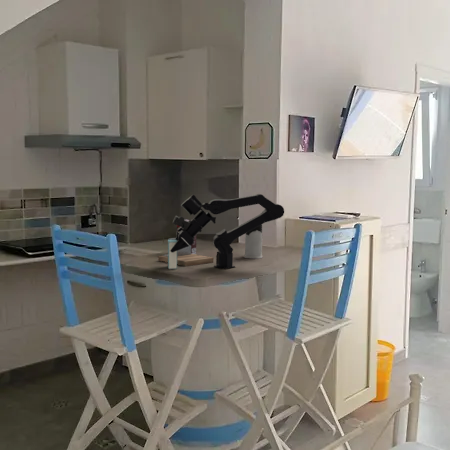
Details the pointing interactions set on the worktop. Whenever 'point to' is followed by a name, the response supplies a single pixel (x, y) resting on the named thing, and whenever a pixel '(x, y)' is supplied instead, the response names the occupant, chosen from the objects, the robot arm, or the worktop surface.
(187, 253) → the grey metal bookend
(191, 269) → the worktop surface
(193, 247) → the supplement box
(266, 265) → the worktop surface
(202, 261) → the wooden board
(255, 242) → the glass holder
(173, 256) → the teal rectangular block
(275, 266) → the worktop surface
